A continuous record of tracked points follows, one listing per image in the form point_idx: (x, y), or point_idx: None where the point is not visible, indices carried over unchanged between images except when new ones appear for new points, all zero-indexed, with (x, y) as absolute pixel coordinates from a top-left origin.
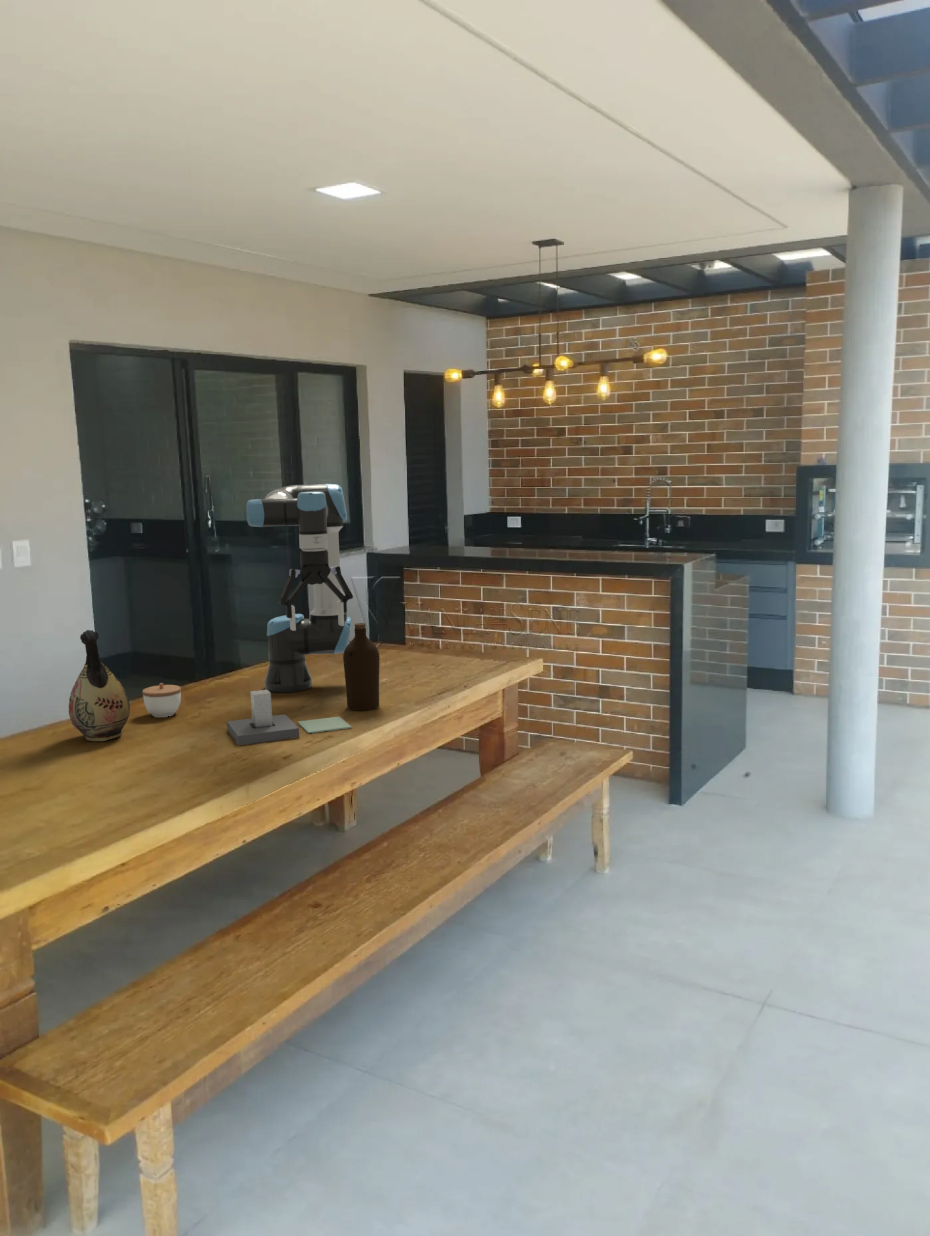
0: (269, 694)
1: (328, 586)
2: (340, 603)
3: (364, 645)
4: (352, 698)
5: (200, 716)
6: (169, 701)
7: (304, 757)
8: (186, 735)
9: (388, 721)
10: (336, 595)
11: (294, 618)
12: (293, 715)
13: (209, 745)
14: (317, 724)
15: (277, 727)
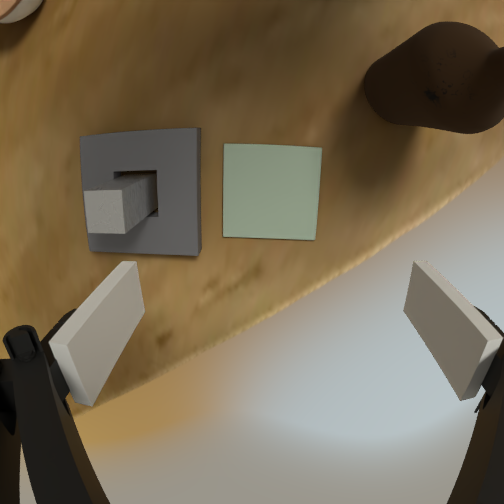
0: (123, 232)
1: (468, 494)
2: (458, 393)
3: (485, 113)
4: (378, 102)
5: (70, 19)
6: (14, 16)
7: (187, 352)
8: (32, 143)
9: (394, 227)
10: (501, 385)
11: (117, 351)
12: (234, 71)
13: (58, 221)
14: (257, 188)
15: (159, 230)
